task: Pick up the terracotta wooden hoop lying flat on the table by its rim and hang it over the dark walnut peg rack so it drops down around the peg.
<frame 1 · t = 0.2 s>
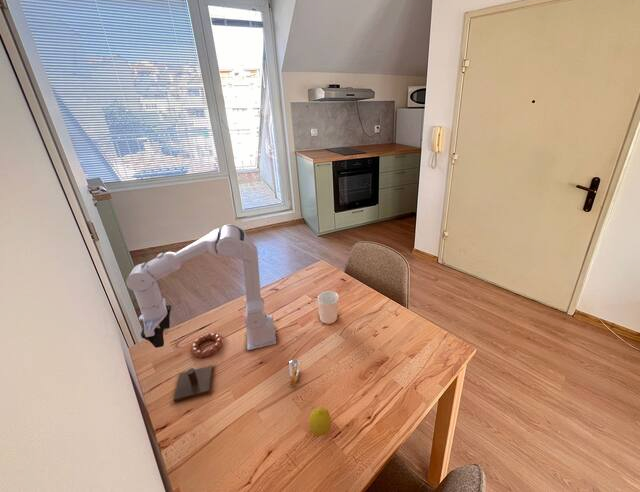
hand: (162, 336, 91), 10 cm above the table, tool pointing down, fingers open, 7 cm apart
white cup: (328, 318, 115), on the table
ring: (295, 380, 90), on the table
lemon: (320, 431, 77), on the table
rack: (194, 384, 88), on the table
hoop: (206, 344, 100), point 1 cm above the table
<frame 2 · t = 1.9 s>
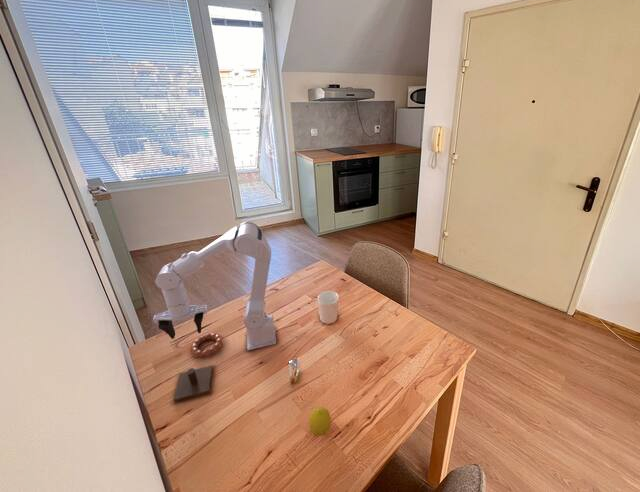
hand: (186, 333, 96), 8 cm above the table, tool pointing down, fingers open, 7 cm apart
nothing on the table moved.
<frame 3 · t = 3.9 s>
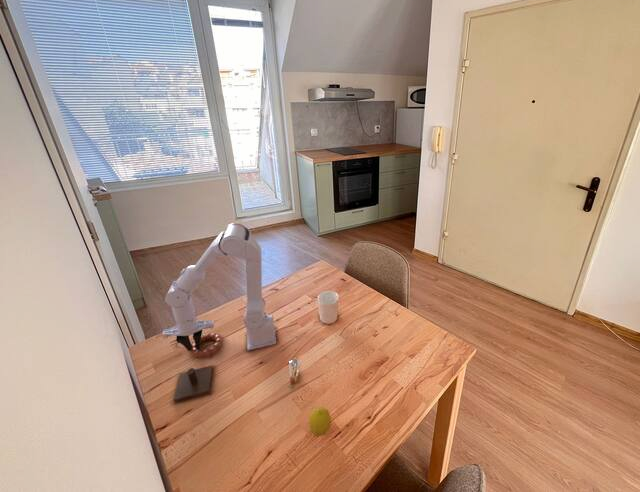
hand: (194, 347, 99), 1 cm above the table, tool pointing down, fingers closed on hoop, 2 cm apart
hoop: (206, 344, 100), point 1 cm above the table, touching gripper
everything else where it was.
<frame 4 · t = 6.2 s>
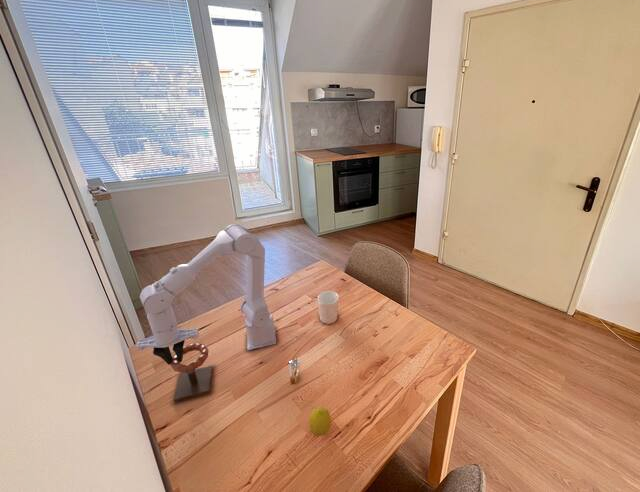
hand: (175, 360, 85), 9 cm above the table, tool pointing down, fingers closed on hoop, 2 cm apart
hoop: (190, 357, 86), point 9 cm above the table, touching gripper
everything else where it was.
when the fingers open (3 cm above the table, at t = 8.5 s): hoop stays where it is, resting on rack.
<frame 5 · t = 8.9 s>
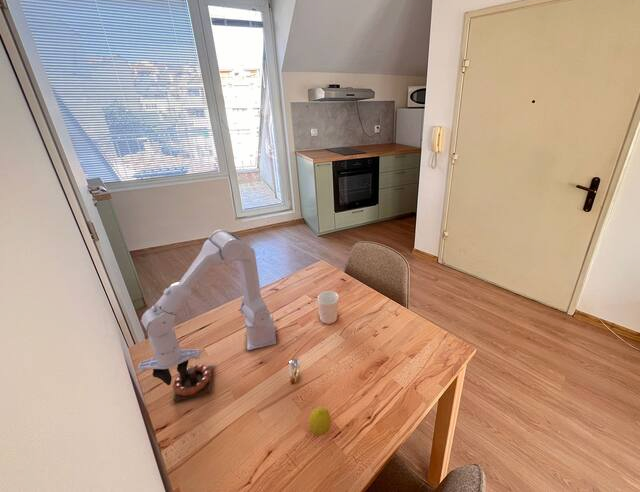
hand: (177, 380, 85), 3 cm above the table, tool pointing down, fingers open, 3 cm apart
hoop: (192, 379, 87), point 2 cm above the table, touching rack
everything else where it was.
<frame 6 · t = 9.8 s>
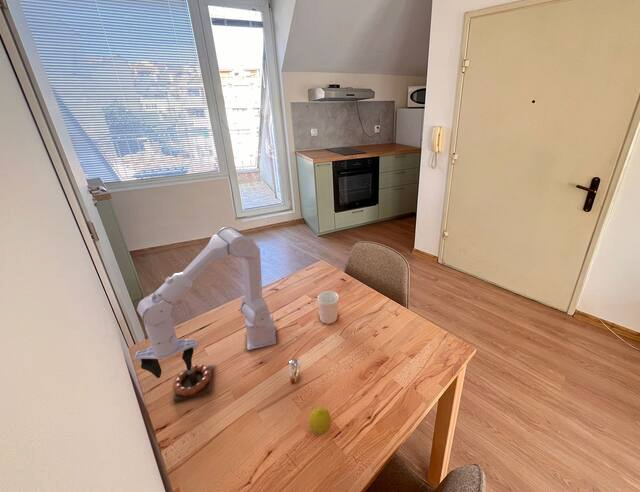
hand: (174, 371, 84), 7 cm above the table, tool pointing down, fingers open, 7 cm apart
nothing on the table moved.
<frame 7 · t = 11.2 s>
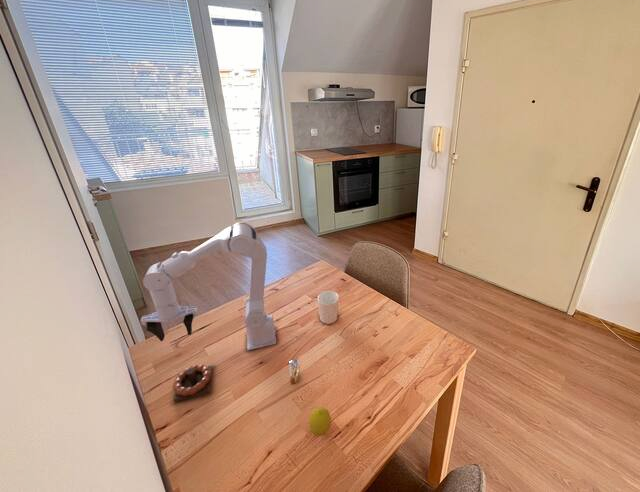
hand: (176, 335, 93), 9 cm above the table, tool pointing down, fingers open, 7 cm apart
nothing on the table moved.
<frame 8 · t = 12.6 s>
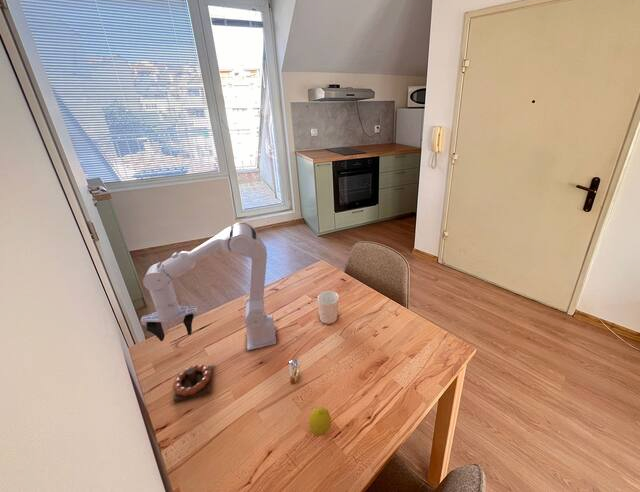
hand: (176, 335, 93), 9 cm above the table, tool pointing down, fingers open, 7 cm apart
nothing on the table moved.
at the end: hoop 0.2 cm from the rack (horizontally); hoop point 2.2 cm above the table; the gripper is holding nothing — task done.
